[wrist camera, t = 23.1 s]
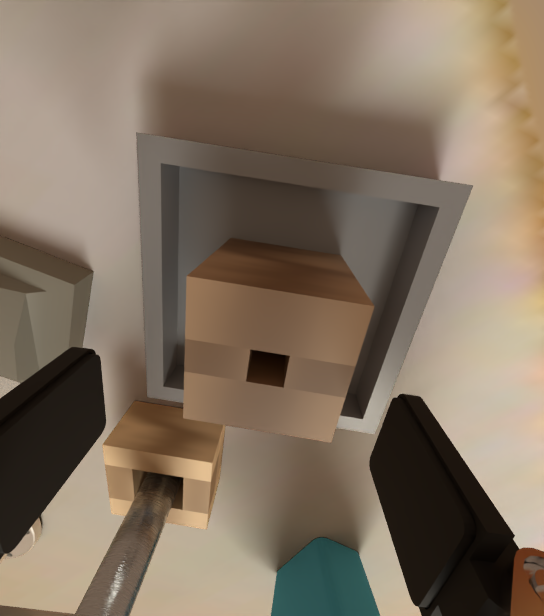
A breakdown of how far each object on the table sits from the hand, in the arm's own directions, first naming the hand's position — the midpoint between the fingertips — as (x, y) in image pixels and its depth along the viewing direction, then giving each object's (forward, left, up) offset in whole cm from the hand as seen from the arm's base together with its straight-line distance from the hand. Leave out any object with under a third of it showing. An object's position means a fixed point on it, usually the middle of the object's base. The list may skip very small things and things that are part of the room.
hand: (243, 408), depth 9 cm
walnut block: (+1, +1, -8) cm, 8 cm away
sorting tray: (+1, +1, -9) cm, 9 cm away
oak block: (-5, -13, -9) cm, 17 cm away
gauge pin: (-5, -13, -9) cm, 17 cm away
